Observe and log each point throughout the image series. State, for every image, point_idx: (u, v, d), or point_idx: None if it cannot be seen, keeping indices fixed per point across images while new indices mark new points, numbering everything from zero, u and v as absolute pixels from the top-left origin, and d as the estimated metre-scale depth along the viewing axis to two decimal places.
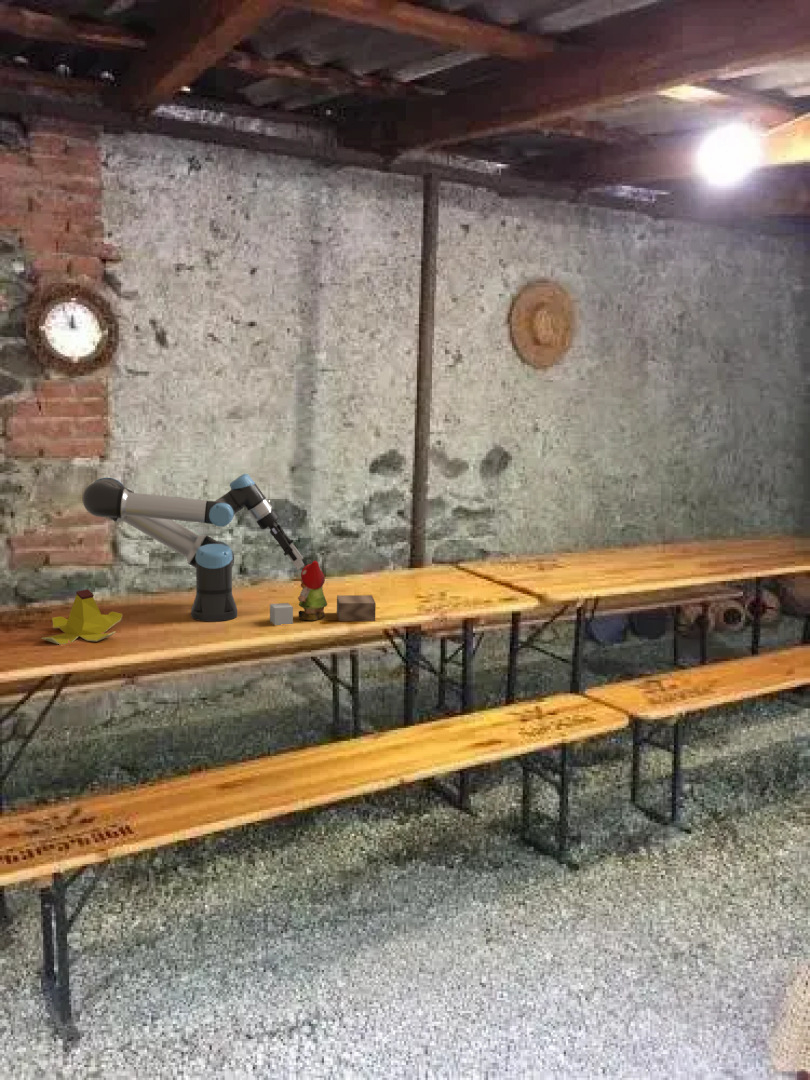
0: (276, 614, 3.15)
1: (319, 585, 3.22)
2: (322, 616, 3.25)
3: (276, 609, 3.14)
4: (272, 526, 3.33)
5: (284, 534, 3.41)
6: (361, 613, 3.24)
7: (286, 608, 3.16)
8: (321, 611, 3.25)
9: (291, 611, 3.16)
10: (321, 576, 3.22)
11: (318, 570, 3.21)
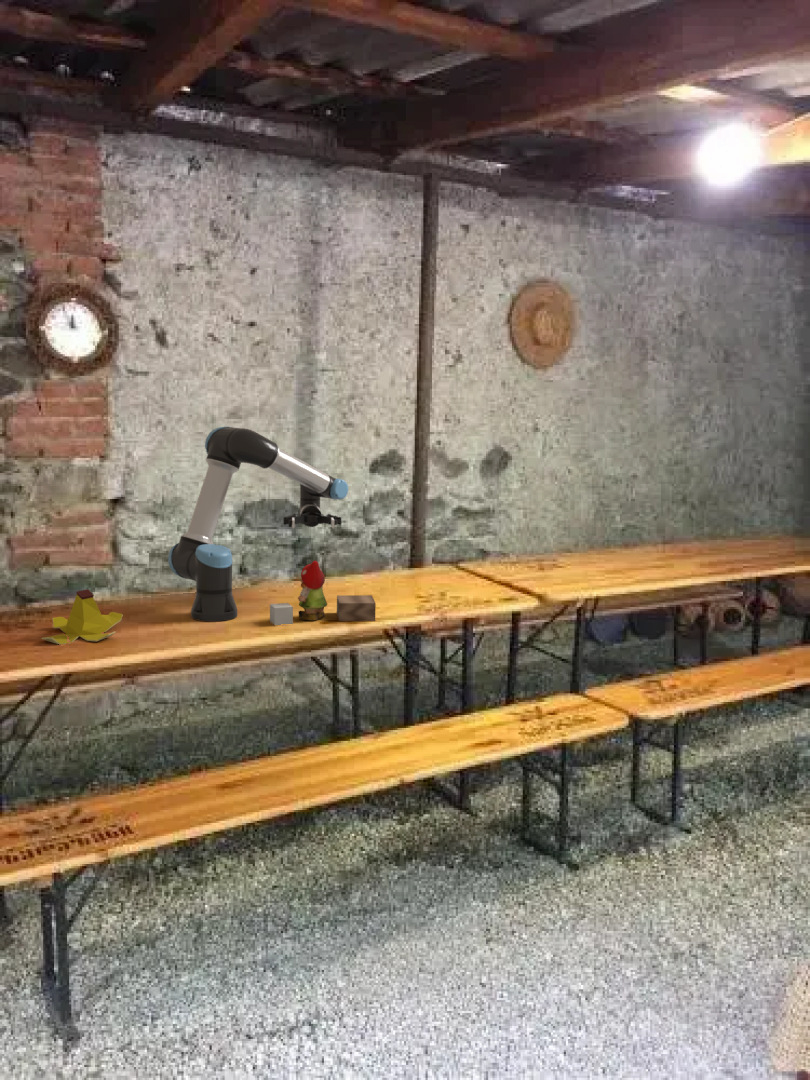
0: (276, 614, 3.15)
1: (319, 585, 3.22)
2: (322, 616, 3.25)
3: (276, 609, 3.14)
4: None
5: (301, 522, 3.46)
6: (361, 613, 3.24)
7: (286, 608, 3.16)
8: (321, 611, 3.25)
9: (291, 611, 3.16)
10: (321, 576, 3.22)
11: (318, 570, 3.21)
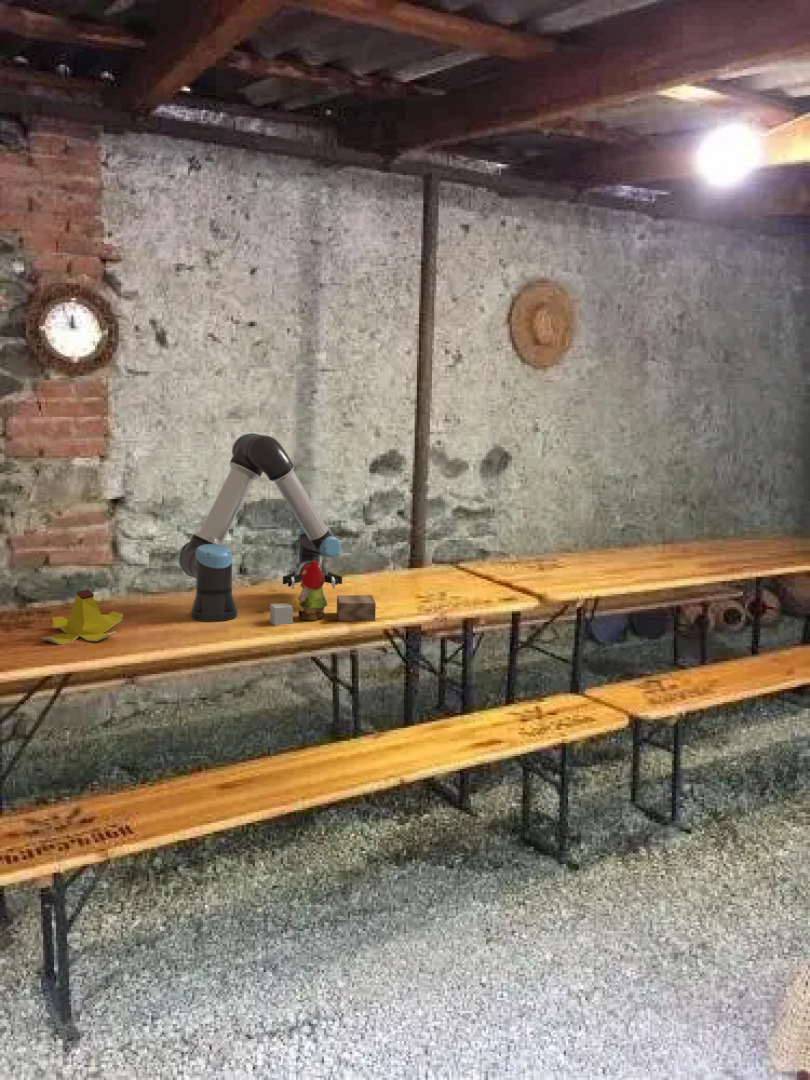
0: (276, 614, 3.15)
1: (319, 585, 3.22)
2: (322, 616, 3.25)
3: (276, 609, 3.14)
4: None
5: None
6: (361, 613, 3.24)
7: (286, 608, 3.16)
8: (321, 611, 3.25)
9: (291, 611, 3.16)
10: (321, 576, 3.22)
11: (318, 570, 3.21)
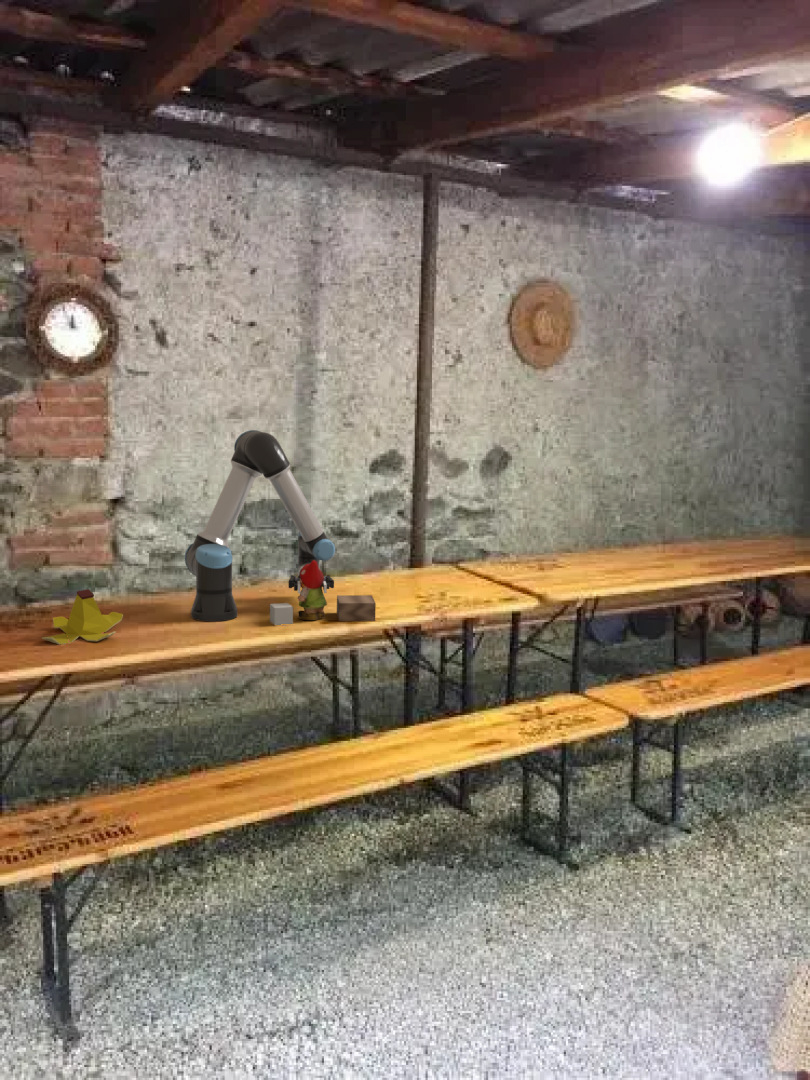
0: (276, 614, 3.15)
1: (318, 585, 3.22)
2: (322, 616, 3.25)
3: (276, 609, 3.14)
4: None
5: None
6: (361, 613, 3.24)
7: (286, 608, 3.16)
8: (321, 611, 3.25)
9: (291, 611, 3.16)
10: (320, 576, 3.22)
11: (317, 570, 3.21)
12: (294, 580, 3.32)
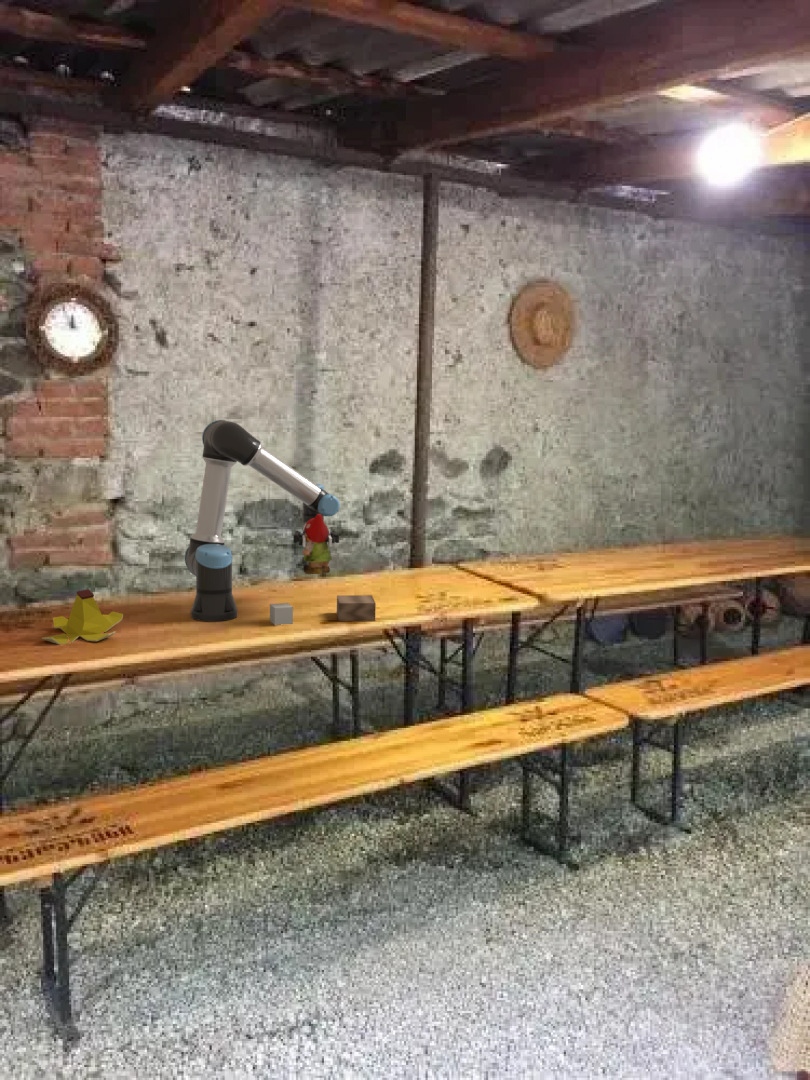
0: (276, 614, 3.15)
1: (323, 539, 3.20)
2: (327, 570, 3.23)
3: (276, 609, 3.14)
4: None
5: None
6: (361, 613, 3.24)
7: (286, 608, 3.16)
8: (326, 565, 3.23)
9: (291, 611, 3.16)
10: (325, 529, 3.20)
11: (322, 523, 3.19)
12: (299, 535, 3.30)
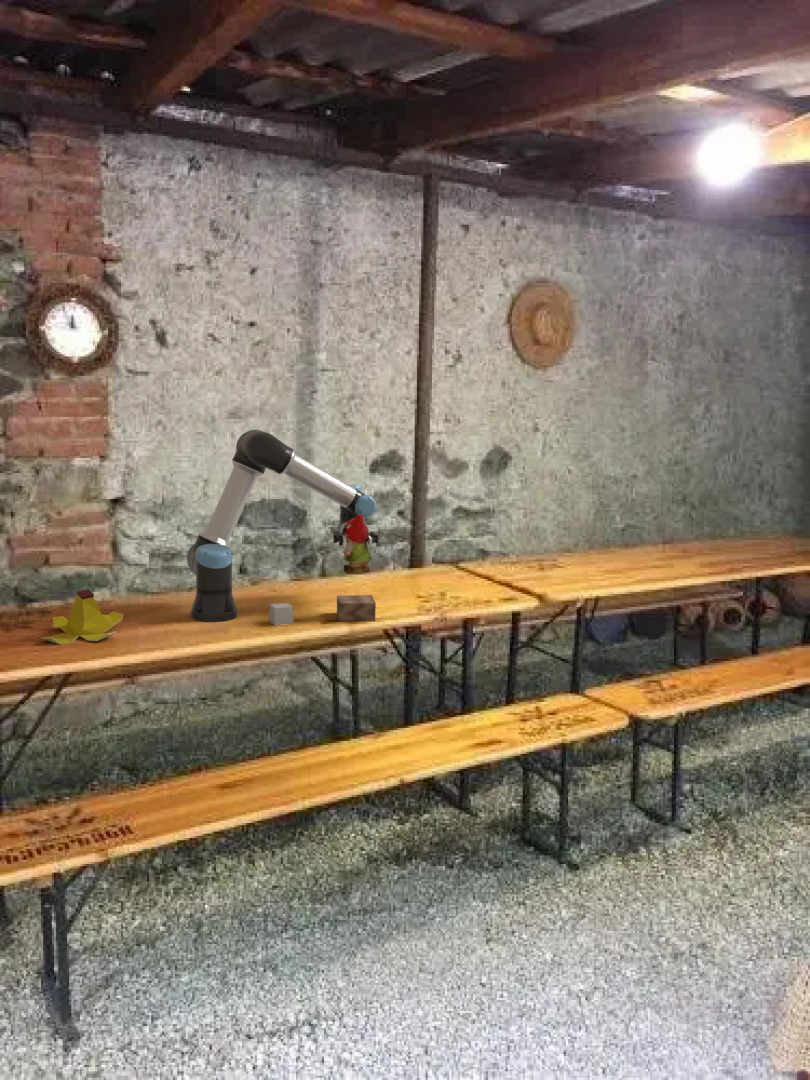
0: (276, 614, 3.15)
1: (364, 539, 3.23)
2: (367, 570, 3.27)
3: (276, 609, 3.14)
4: None
5: None
6: (361, 613, 3.24)
7: (286, 608, 3.16)
8: (366, 565, 3.26)
9: (291, 611, 3.16)
10: (365, 530, 3.24)
11: (363, 524, 3.22)
12: (338, 536, 3.33)
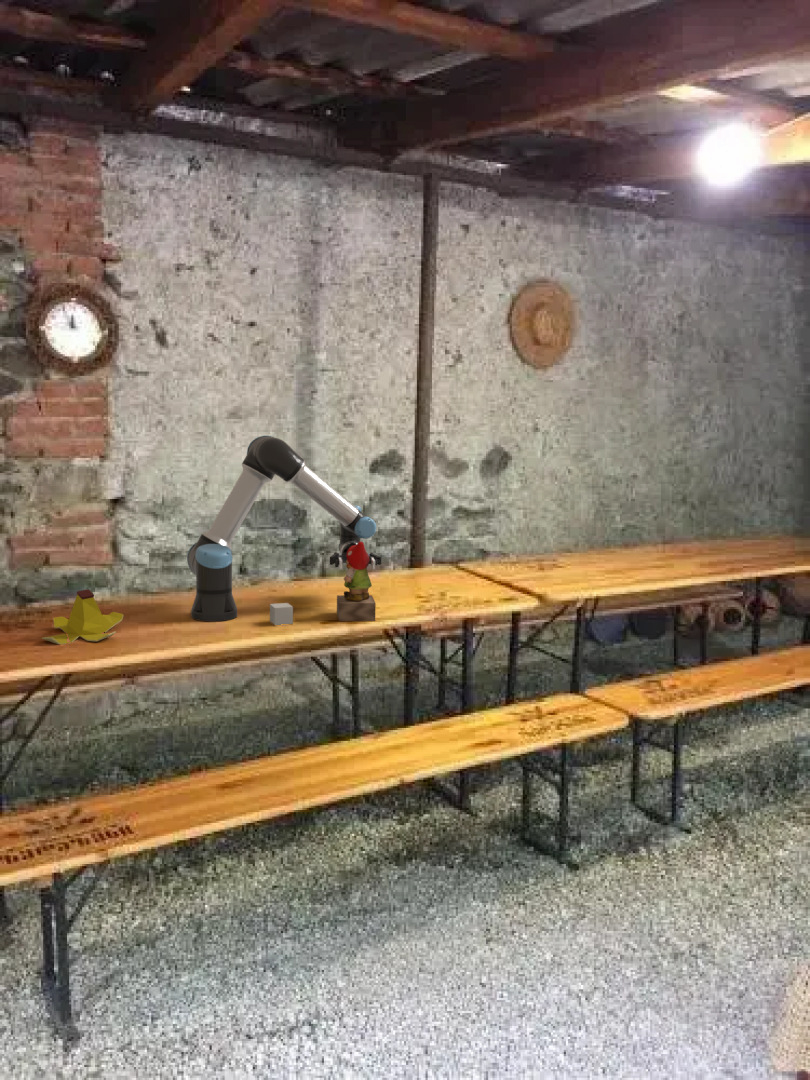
0: (276, 614, 3.15)
1: (364, 566, 3.25)
2: (367, 597, 3.28)
3: (276, 609, 3.14)
4: None
5: (345, 562, 3.34)
6: (361, 613, 3.24)
7: (286, 608, 3.16)
8: (366, 592, 3.28)
9: (291, 611, 3.16)
10: (366, 557, 3.26)
11: (364, 551, 3.24)
12: None
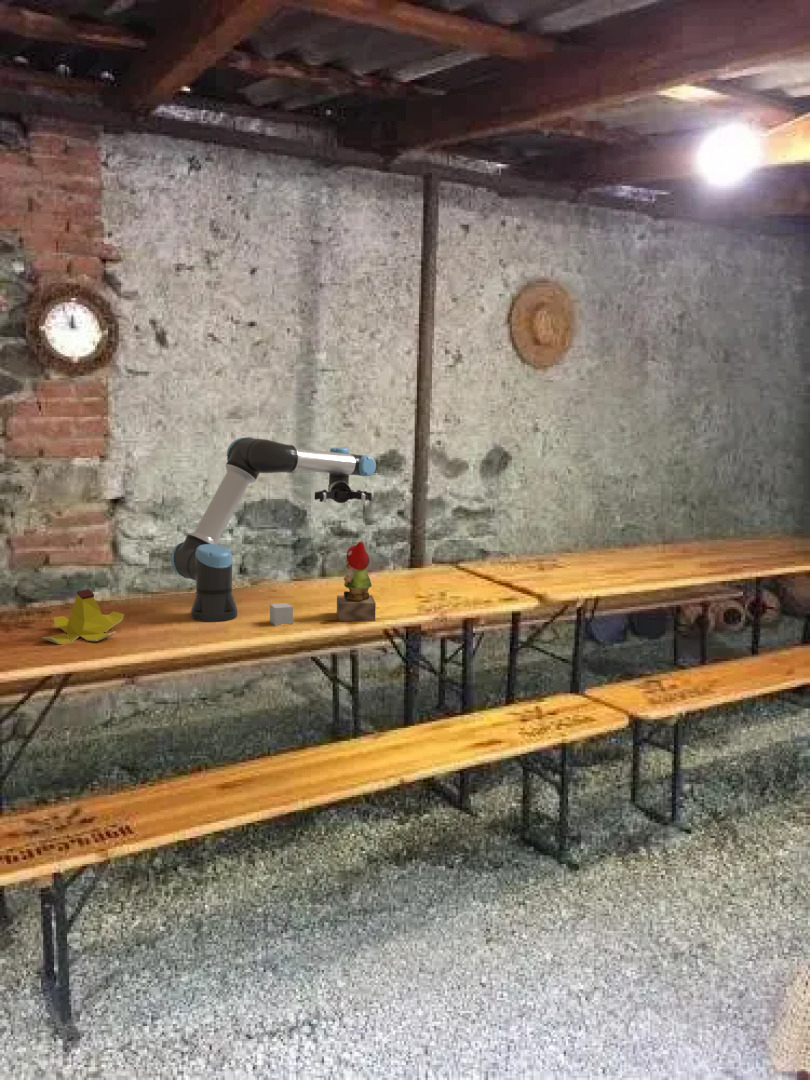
0: (276, 614, 3.15)
1: (364, 566, 3.25)
2: (367, 596, 3.28)
3: (276, 609, 3.14)
4: None
5: (332, 498, 3.51)
6: (361, 613, 3.24)
7: (286, 608, 3.16)
8: (366, 592, 3.28)
9: (291, 611, 3.16)
10: (366, 557, 3.26)
11: (364, 551, 3.24)
12: None
